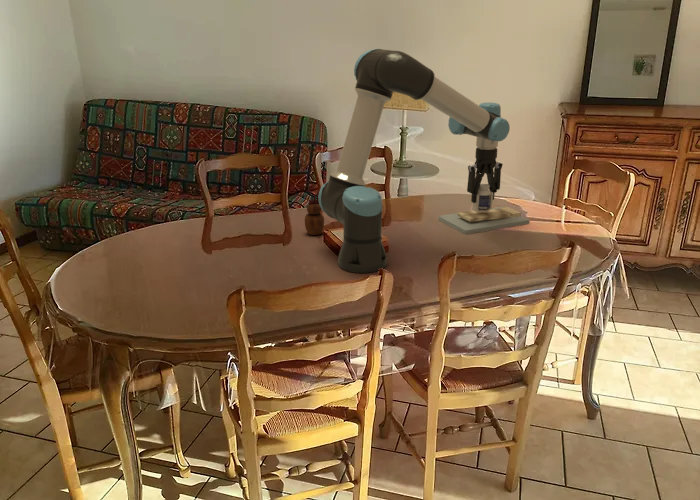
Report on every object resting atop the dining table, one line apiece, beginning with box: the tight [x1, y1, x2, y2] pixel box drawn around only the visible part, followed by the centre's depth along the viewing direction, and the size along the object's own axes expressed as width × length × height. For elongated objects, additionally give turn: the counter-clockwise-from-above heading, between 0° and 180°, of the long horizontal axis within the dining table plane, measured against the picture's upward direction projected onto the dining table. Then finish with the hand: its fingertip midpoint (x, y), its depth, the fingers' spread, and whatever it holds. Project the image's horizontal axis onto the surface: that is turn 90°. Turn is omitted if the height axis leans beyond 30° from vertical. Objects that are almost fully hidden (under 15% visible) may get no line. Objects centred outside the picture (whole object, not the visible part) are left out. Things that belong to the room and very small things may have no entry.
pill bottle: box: [478, 183, 491, 212], centre depth 217 cm, size 5×5×10 cm
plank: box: [457, 209, 510, 222], centre depth 220 cm, size 18×8×1 cm, turn 114°
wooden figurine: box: [304, 192, 325, 236], centre depth 207 cm, size 7×6×15 cm
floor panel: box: [437, 206, 530, 235], centre depth 220 cm, size 28×18×3 cm, turn 113°
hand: (482, 209), depth 219 cm, fingers closed on pill bottle, 5 cm apart
